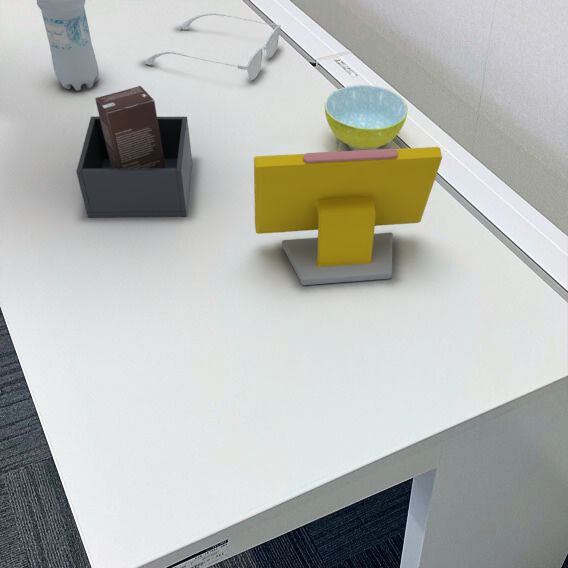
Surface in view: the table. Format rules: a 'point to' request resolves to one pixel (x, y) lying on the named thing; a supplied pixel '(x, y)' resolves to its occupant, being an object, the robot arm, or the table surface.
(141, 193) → the bin
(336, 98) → the bowl
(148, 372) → the table surface
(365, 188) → the toy computer monitor
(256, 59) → the eyeglasses
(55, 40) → the bottle
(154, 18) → the table surface
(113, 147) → the box
